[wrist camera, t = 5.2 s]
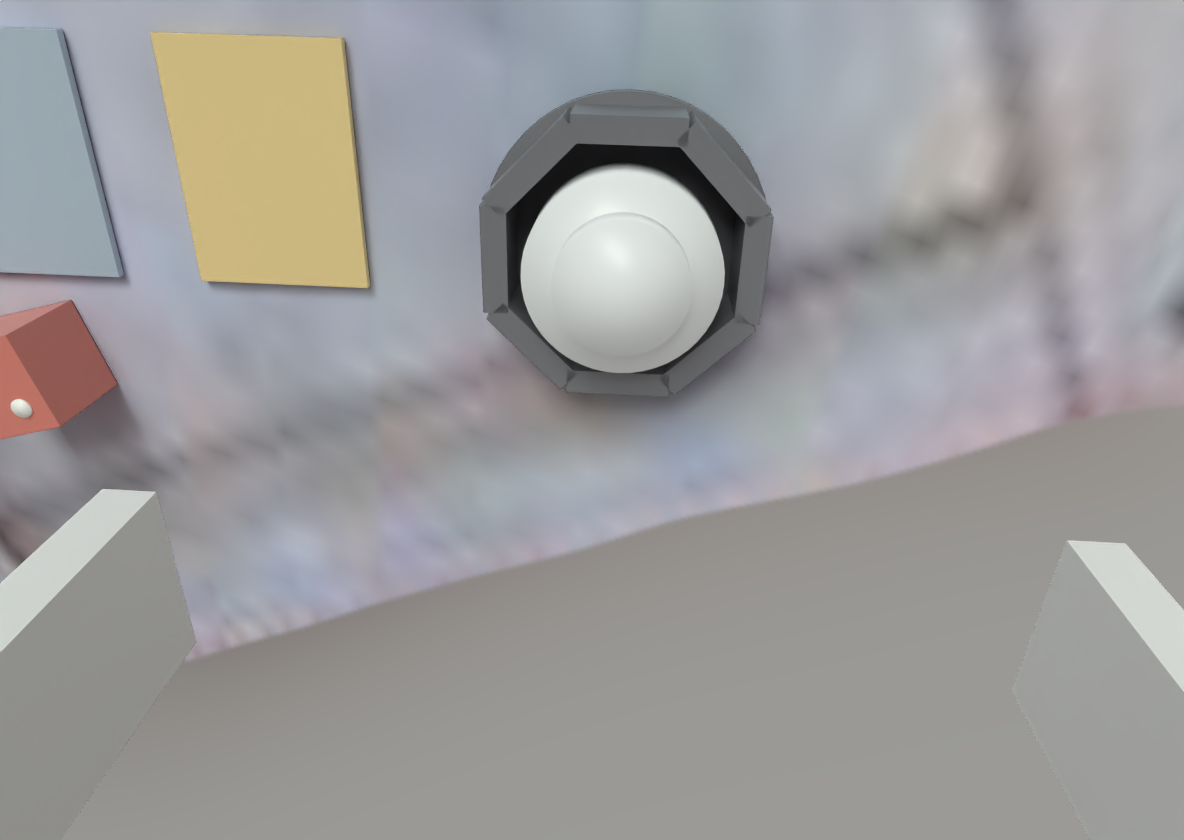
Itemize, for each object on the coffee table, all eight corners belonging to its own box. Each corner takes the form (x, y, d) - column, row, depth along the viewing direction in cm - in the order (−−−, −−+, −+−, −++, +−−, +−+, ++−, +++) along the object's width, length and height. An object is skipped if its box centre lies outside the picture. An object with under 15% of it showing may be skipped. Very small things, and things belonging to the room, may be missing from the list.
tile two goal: (155, 32, 26) (150, 32, 25) (344, 38, 25) (340, 38, 25) (205, 278, 29) (201, 280, 29) (370, 285, 29) (367, 287, 29)
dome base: (479, 84, 26) (460, 94, 23) (785, 94, 25) (802, 106, 23) (489, 362, 30) (475, 398, 28) (749, 375, 30) (760, 412, 27)
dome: (527, 158, 24) (513, 178, 22) (728, 166, 24) (739, 187, 22) (529, 344, 27) (517, 382, 25) (709, 352, 27) (716, 391, 24)
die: (-11, 318, 30) (-86, 356, 27) (71, 299, 30) (3, 336, 27) (39, 400, 32) (-27, 445, 29) (117, 384, 31) (59, 427, 28)
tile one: (-122, 23, 26) (-130, 23, 26) (62, 29, 26) (56, 29, 25) (-38, 267, 30) (-44, 270, 29) (124, 274, 29) (119, 277, 29)
